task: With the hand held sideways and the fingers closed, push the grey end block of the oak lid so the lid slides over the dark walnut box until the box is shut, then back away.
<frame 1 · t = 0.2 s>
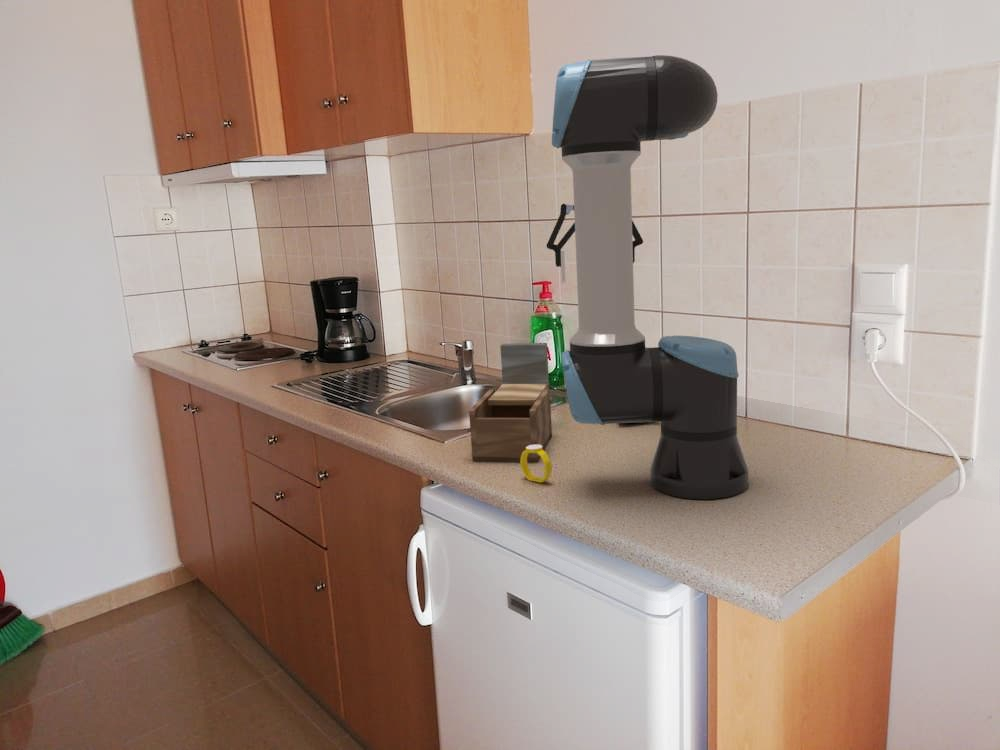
hand: (595, 281, 169), 28 cm above the worktop, fingers open, 13 cm apart
walnut box: (513, 448, 149), on the worktop
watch: (536, 482, 131), on the worktop
lid: (518, 373, 154), point 13 cm above the worktop, slide at 8.0 cm
packaged food: (630, 421, 164), on the worktop
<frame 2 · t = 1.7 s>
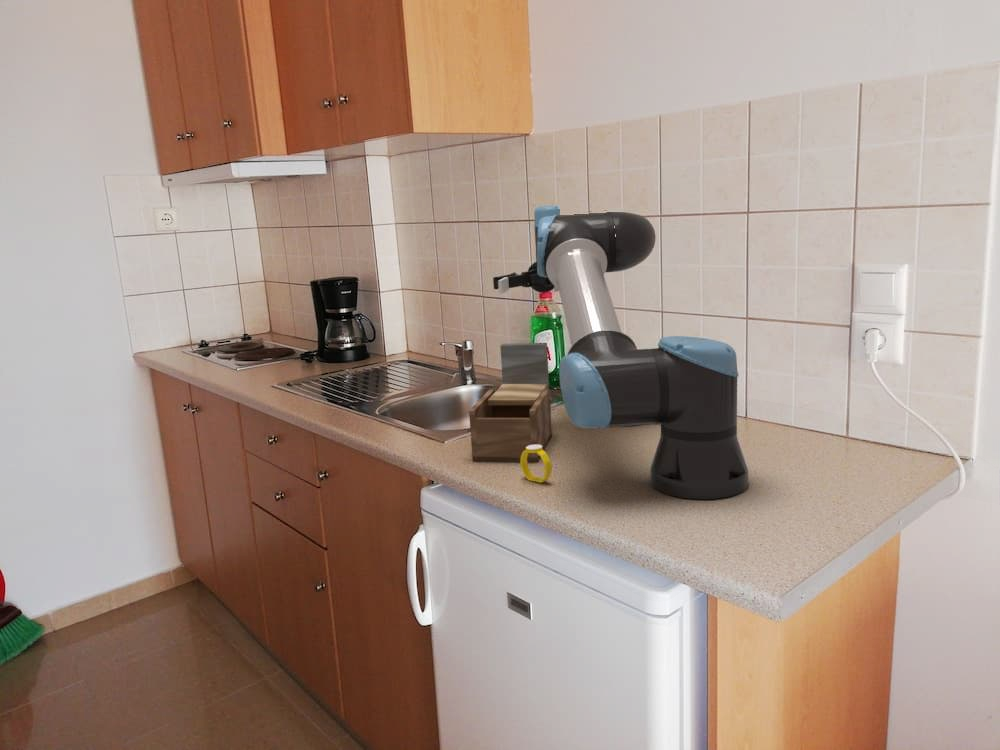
hand: (527, 286, 164), 28 cm above the worktop, fingers open, 11 cm apart
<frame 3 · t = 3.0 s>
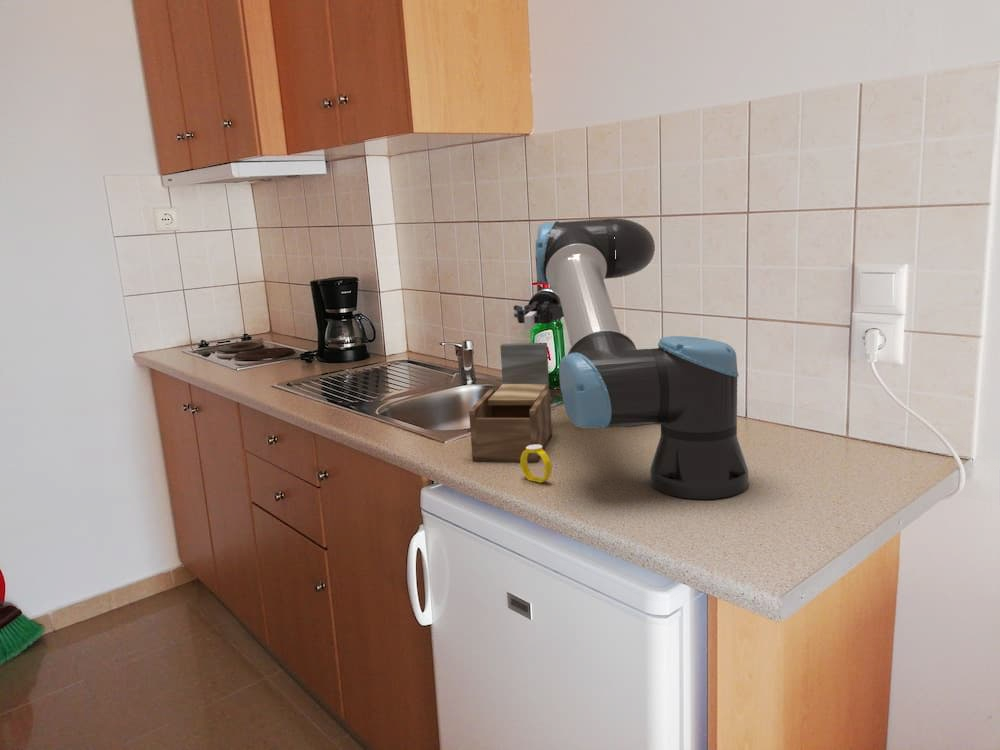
hand: (527, 322, 165), 21 cm above the worktop, fingers closed
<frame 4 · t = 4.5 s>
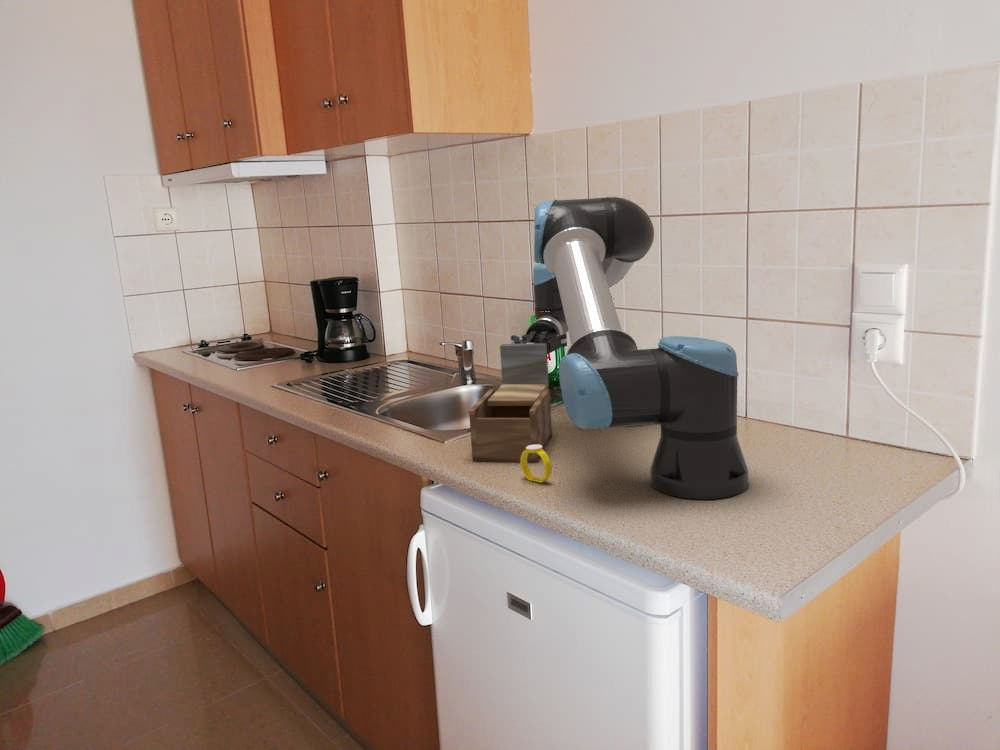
hand: (525, 355, 161), 15 cm above the worktop, fingers closed
lid: (518, 373, 154), point 13 cm above the worktop, slide at 7.7 cm, touching gripper
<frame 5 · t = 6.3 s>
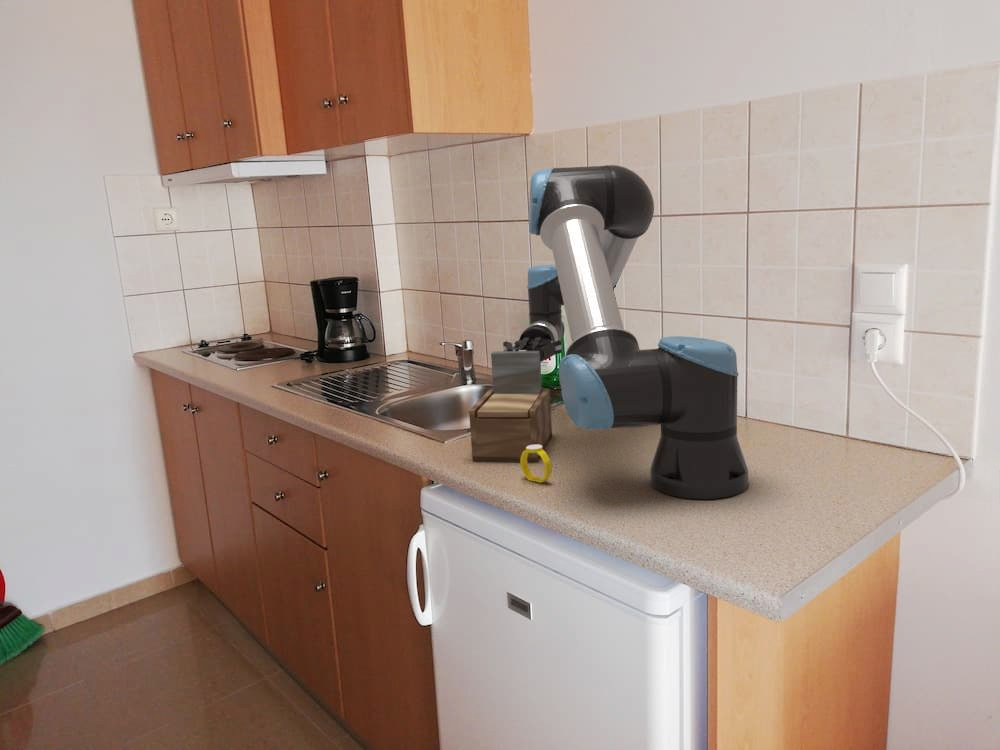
hand: (516, 363, 153), 15 cm above the worktop, fingers closed
lid: (509, 382, 146), point 13 cm above the worktop, slide at -0.2 cm, touching gripper
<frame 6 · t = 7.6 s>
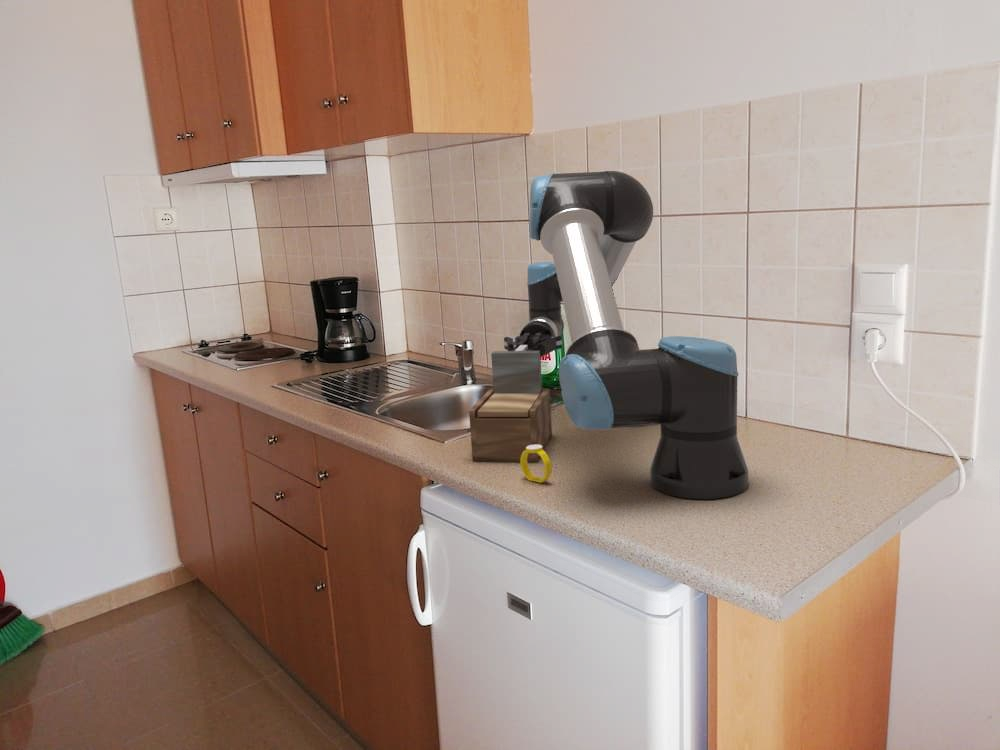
hand: (518, 357, 155), 16 cm above the worktop, fingers closed
lid: (510, 382, 146), point 13 cm above the worktop, slide at 0.0 cm
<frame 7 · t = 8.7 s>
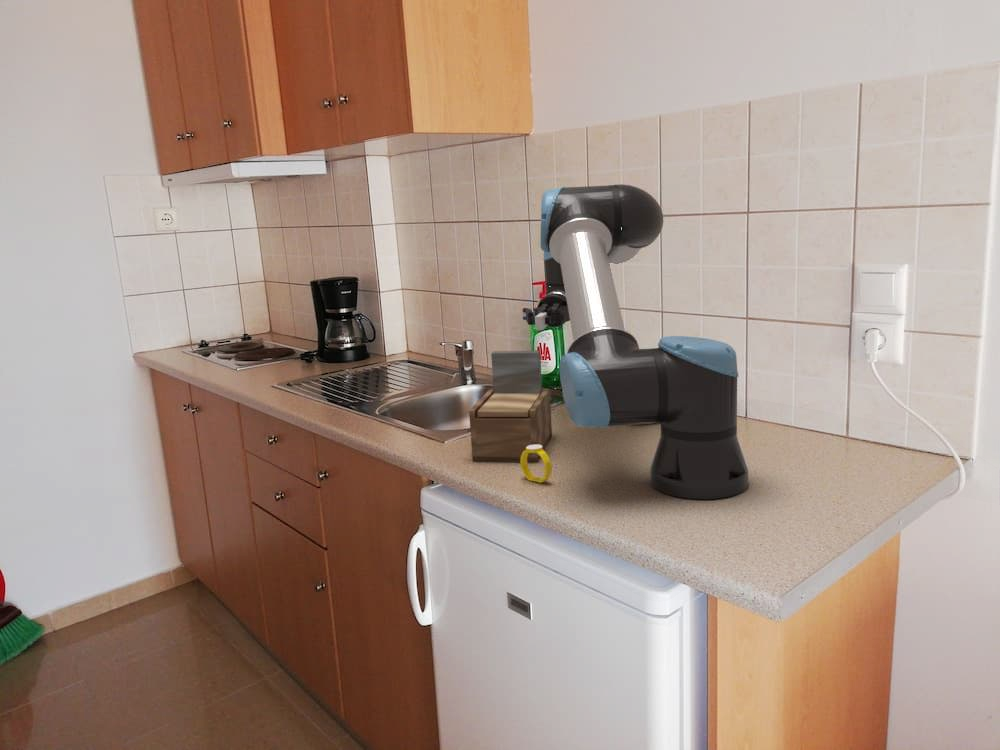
hand: (538, 323, 159), 21 cm above the worktop, fingers closed
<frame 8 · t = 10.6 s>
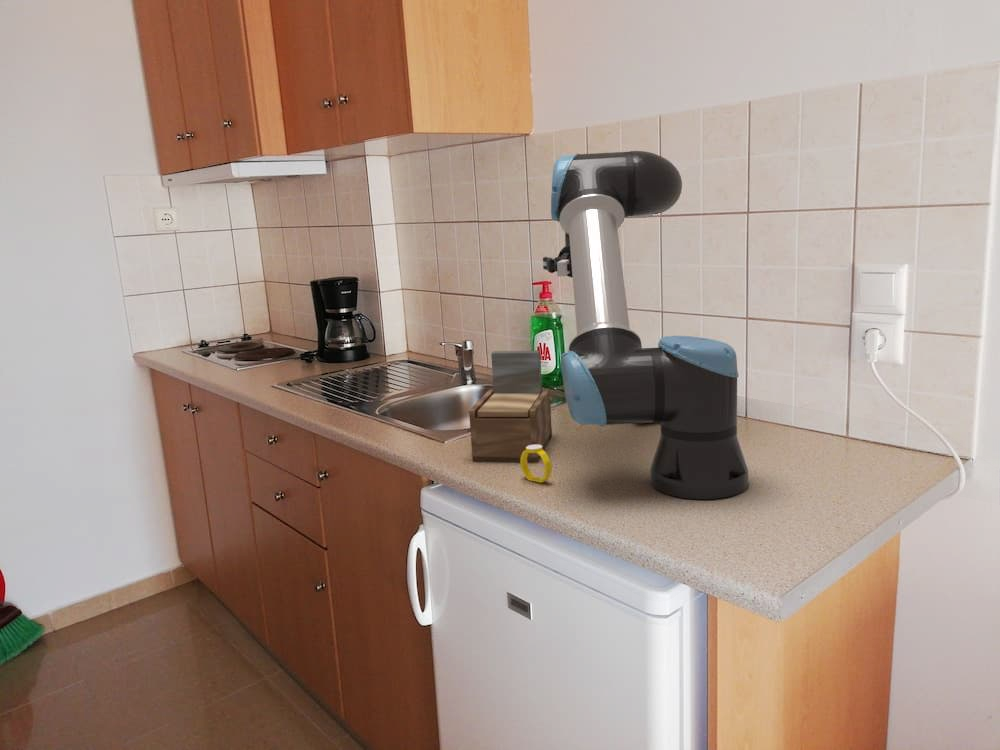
hand: (561, 269, 154), 32 cm above the worktop, fingers closed
at the end: lid slide at 0.0 cm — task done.
